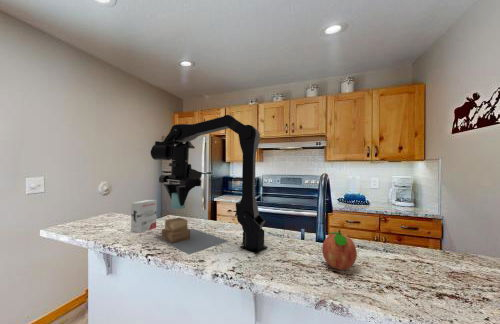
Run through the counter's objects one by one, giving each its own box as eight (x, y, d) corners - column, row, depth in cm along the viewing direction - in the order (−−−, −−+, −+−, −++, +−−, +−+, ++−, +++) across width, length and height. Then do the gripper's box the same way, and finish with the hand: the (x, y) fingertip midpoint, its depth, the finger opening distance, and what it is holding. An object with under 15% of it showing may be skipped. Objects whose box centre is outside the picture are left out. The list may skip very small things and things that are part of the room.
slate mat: (228, 242, 76) (228, 241, 76) (188, 255, 64) (189, 254, 64) (192, 229, 90) (192, 228, 90) (154, 238, 78) (154, 237, 78)
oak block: (187, 229, 77) (187, 220, 78) (173, 232, 73) (173, 222, 73) (178, 226, 81) (179, 217, 81) (164, 229, 77) (165, 219, 77)
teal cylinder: (187, 207, 78) (187, 193, 78) (175, 209, 74) (176, 194, 74) (180, 205, 81) (180, 192, 81) (168, 207, 77) (169, 193, 77)
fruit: (353, 262, 62) (353, 227, 62) (360, 278, 53) (360, 237, 53) (321, 258, 64) (322, 224, 65) (322, 272, 55) (323, 233, 56)
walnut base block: (190, 238, 78) (190, 229, 78) (171, 243, 72) (172, 233, 72) (179, 234, 82) (179, 225, 82) (161, 238, 77) (161, 229, 77)
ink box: (147, 227, 92) (148, 199, 92) (156, 228, 90) (157, 199, 91) (129, 232, 84) (130, 201, 84) (139, 234, 82) (140, 203, 83)
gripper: (214, 162, 78) (212, 206, 77) (185, 161, 90) (183, 199, 90) (187, 160, 69) (185, 210, 69) (159, 160, 82) (157, 201, 81)
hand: (178, 204), depth 78 cm, fingers closed on teal cylinder, 5 cm apart
